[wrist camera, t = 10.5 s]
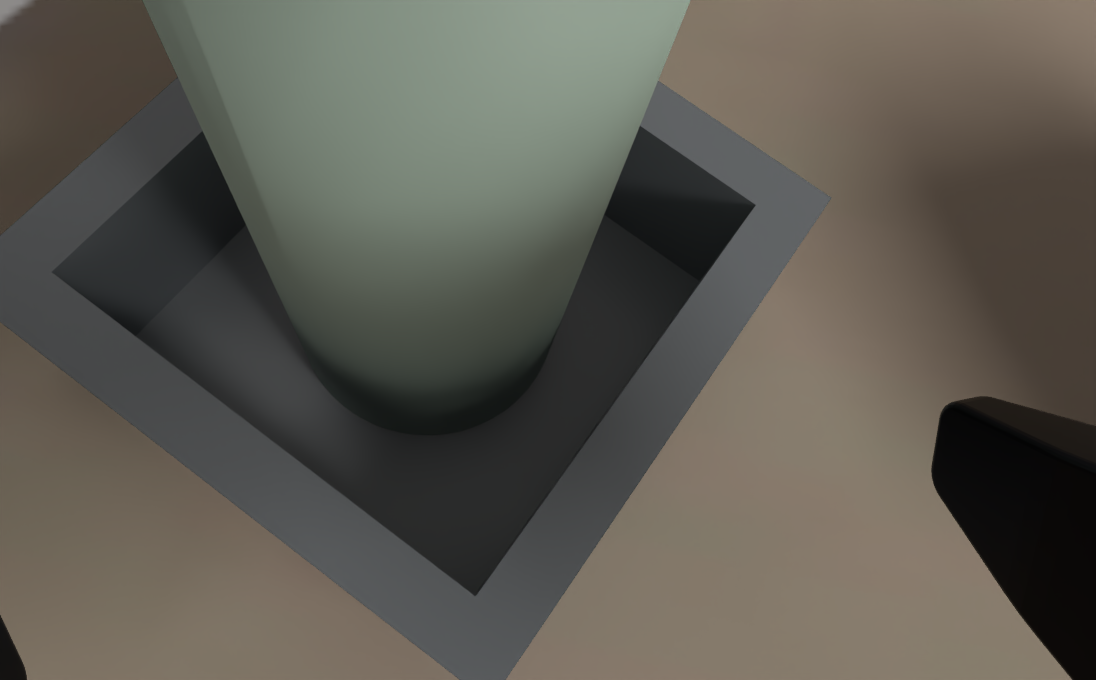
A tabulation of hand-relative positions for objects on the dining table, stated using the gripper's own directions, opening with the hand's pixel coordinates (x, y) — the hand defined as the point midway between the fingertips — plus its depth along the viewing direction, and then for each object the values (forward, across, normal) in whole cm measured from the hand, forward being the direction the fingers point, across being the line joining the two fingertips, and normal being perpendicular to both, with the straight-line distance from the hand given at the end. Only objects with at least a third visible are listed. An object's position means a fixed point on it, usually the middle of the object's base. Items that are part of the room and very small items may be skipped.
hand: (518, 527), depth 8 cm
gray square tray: (+10, 0, +2) cm, 10 cm away
